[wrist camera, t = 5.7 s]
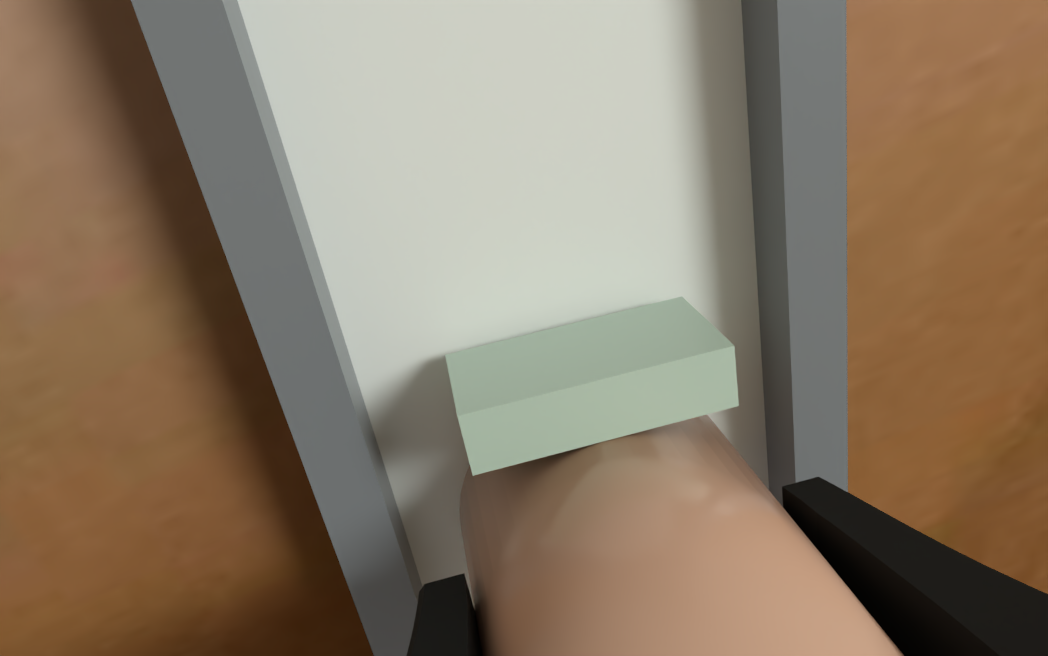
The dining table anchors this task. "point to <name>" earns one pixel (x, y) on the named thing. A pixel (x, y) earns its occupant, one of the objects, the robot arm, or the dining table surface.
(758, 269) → the pusher lane
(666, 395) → the plate
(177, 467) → the dining table surface
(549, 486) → the terracotta jar
